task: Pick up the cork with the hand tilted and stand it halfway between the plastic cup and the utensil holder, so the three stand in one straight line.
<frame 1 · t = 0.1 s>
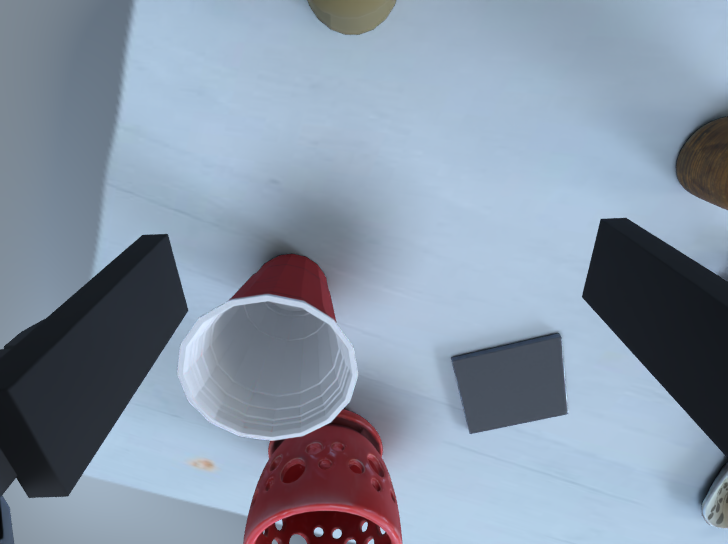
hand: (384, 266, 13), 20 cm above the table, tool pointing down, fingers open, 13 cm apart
flower pot: (331, 436, 45), on the table
plastic cup: (295, 280, 36), on the table
slate coaster: (510, 384, 42), on the table
utensil holder: (713, 154, 31), on the table
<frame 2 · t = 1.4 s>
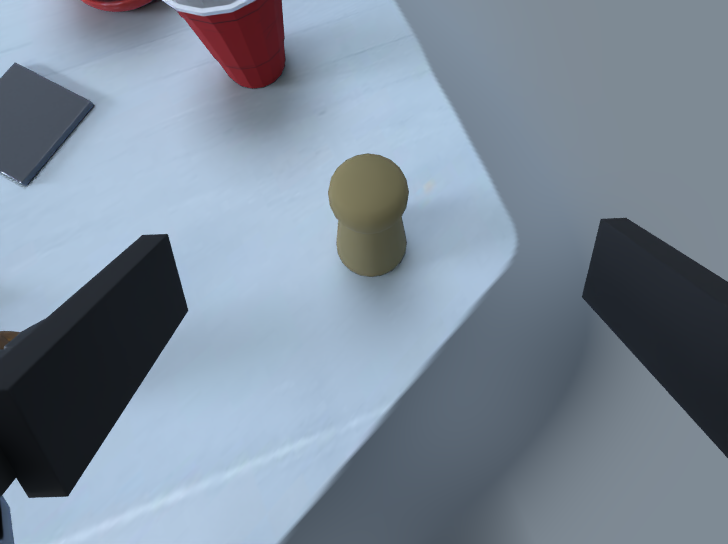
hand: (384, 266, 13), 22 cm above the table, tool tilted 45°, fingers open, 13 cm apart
plastic cup: (257, 68, 42), on the table
cork: (371, 243, 37), on the table
slate coaster: (22, 123, 41), on the table
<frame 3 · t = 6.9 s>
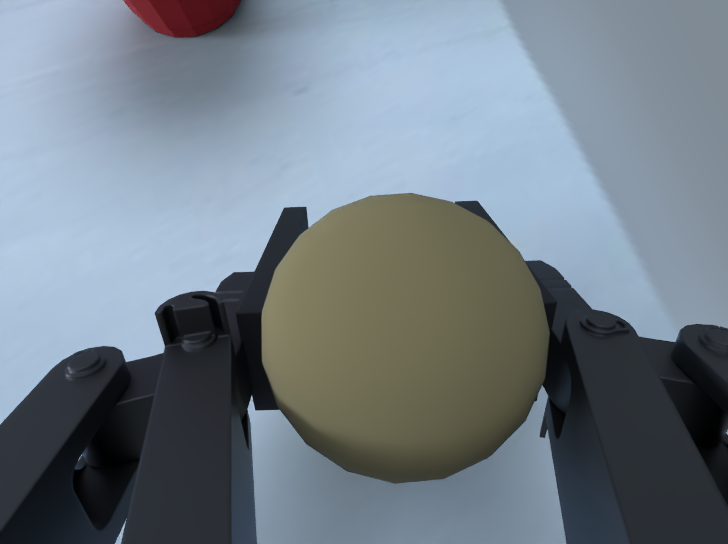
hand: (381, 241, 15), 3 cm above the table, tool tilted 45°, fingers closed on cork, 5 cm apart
plastic cup: (190, 3, 23), on the table
cork: (379, 370, 17), on the table, touching gripper
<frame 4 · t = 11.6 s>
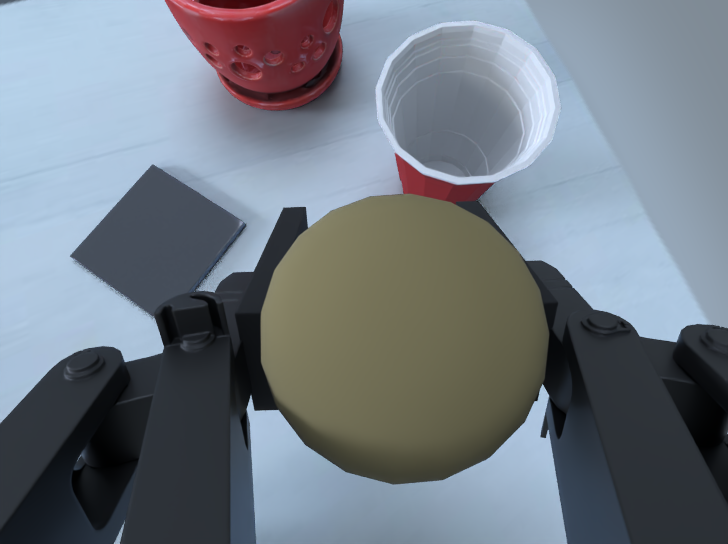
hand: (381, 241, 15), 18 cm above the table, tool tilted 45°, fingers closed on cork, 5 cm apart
flower pot: (279, 71, 40), on the table
plastic cup: (436, 193, 36), on the table
cork: (379, 370, 17), point 15 cm above the table, touching gripper
slate coaster: (161, 241, 35), on the table
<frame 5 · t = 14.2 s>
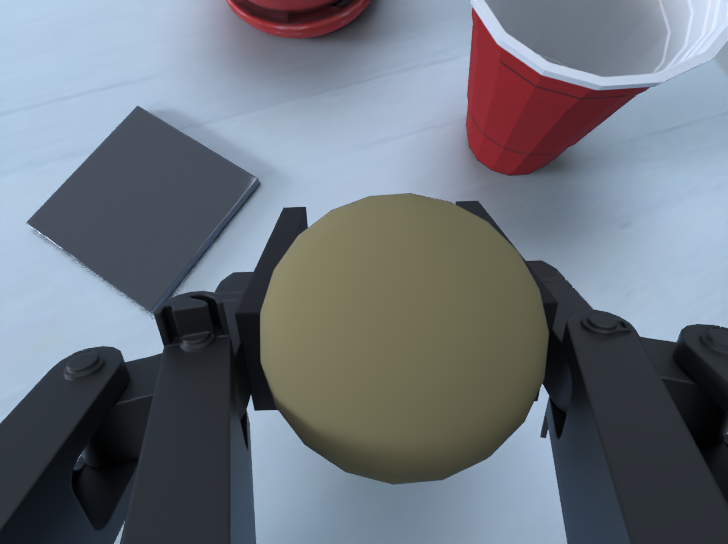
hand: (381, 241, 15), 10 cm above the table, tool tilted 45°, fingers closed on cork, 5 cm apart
plastic cup: (509, 142, 28), on the table
cork: (378, 370, 17), point 6 cm above the table, touching gripper
slate coaster: (148, 204, 26), on the table
when the fingers open (3 cm above the table, at t = 16.3 s): cork stays where it is, on the table.
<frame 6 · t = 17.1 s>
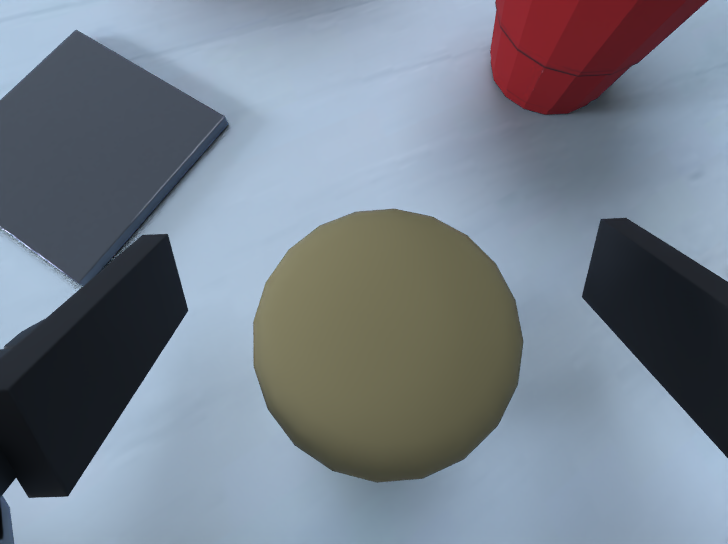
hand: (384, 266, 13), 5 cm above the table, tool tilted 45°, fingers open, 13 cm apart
plastic cup: (544, 75, 22), on the table
cork: (377, 371, 18), on the table
slate coaster: (84, 150, 21), on the table
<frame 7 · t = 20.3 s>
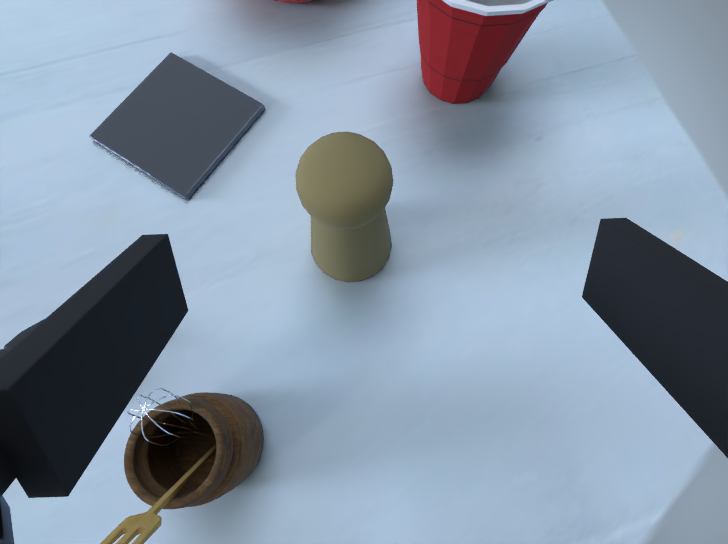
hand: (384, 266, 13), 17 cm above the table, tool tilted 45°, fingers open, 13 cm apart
plastic cup: (455, 80, 36), on the table
cork: (351, 244, 32), on the table
slate coaster: (180, 124, 35), on the table
utensil holder: (221, 443, 28), on the table
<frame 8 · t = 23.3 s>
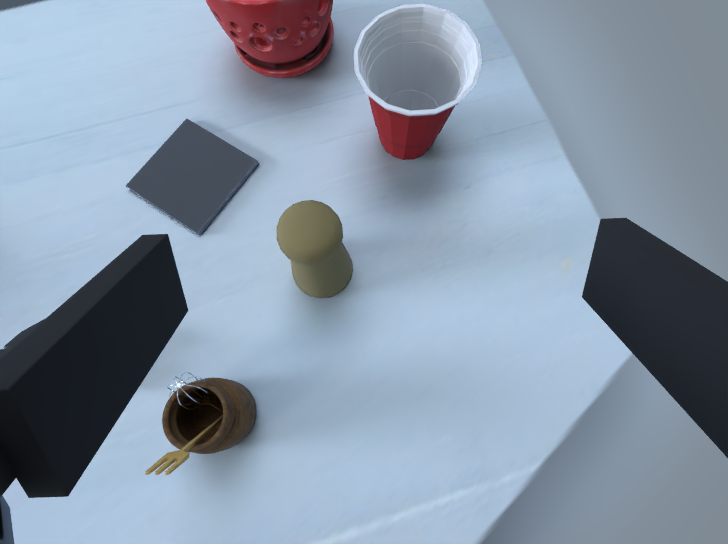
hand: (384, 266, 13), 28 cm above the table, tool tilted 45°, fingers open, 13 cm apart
flower pot: (284, 48, 51), on the table
plastic cup: (405, 140, 47), on the table
cork: (322, 269, 43), on the table
slate coaster: (194, 176, 46), on the table
utensil holder: (226, 415, 39), on the table
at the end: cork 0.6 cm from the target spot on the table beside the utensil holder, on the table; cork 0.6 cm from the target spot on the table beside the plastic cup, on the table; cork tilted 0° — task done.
